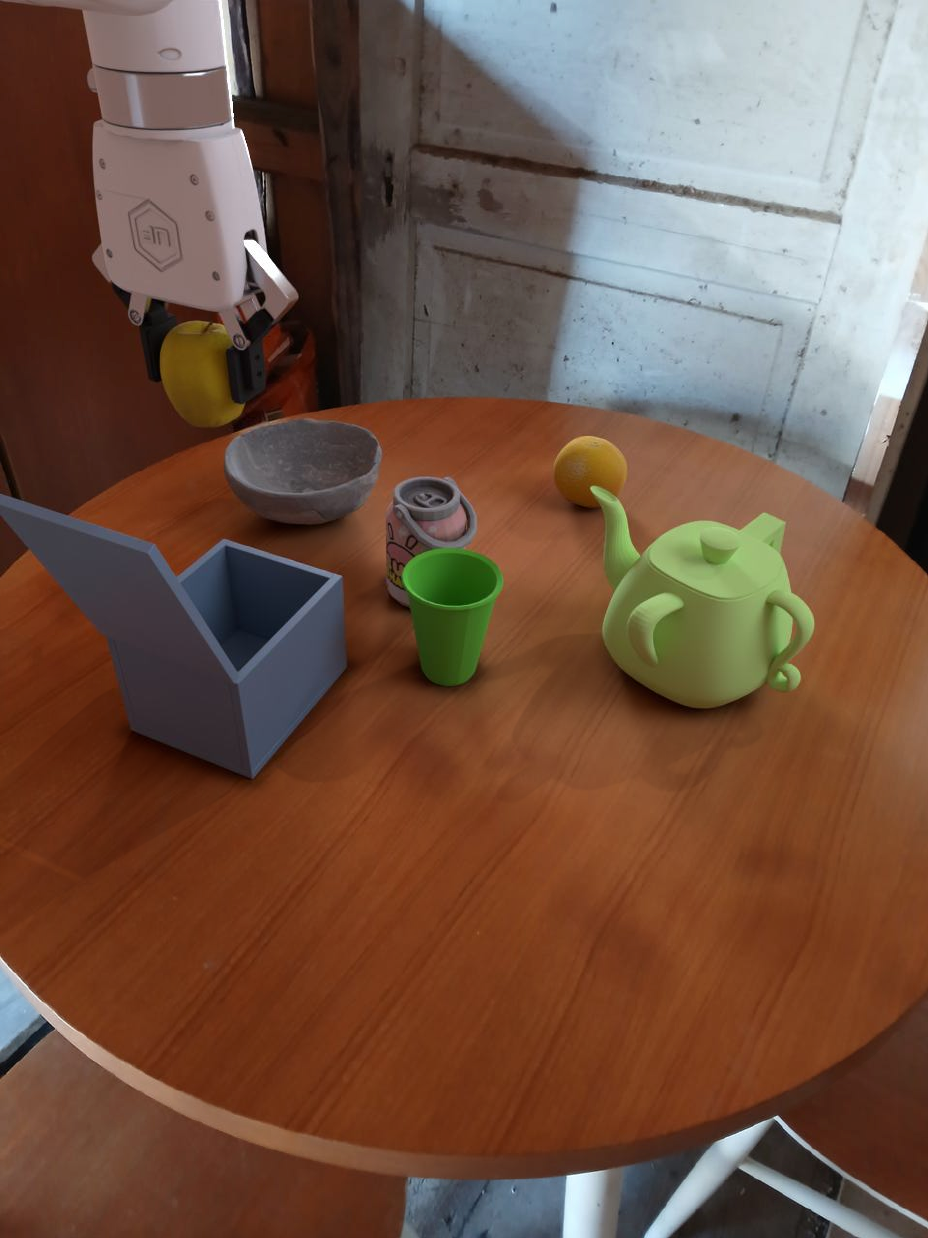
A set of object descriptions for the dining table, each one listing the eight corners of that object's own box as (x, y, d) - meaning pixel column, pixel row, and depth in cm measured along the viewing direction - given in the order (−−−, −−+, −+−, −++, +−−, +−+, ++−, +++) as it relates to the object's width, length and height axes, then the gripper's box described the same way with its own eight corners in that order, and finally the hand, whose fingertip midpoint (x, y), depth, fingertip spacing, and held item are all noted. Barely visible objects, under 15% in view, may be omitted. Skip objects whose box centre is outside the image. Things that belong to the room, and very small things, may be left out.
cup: (474, 630, 91) (480, 540, 84) (510, 689, 85) (519, 596, 78) (389, 649, 88) (388, 556, 82) (419, 711, 82) (421, 616, 75)
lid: (-4, 492, 58) (-12, 501, 58) (155, 543, 54) (147, 553, 54) (107, 626, 72) (101, 634, 71) (239, 675, 68) (234, 684, 68)
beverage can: (487, 592, 96) (494, 495, 89) (435, 629, 91) (438, 529, 84) (422, 558, 101) (423, 463, 93) (369, 592, 95) (366, 493, 88)
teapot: (807, 727, 82) (857, 603, 73) (589, 718, 82) (612, 592, 73) (758, 602, 97) (795, 485, 88) (573, 593, 97) (591, 475, 88)
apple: (248, 445, 64) (235, 334, 59) (158, 440, 64) (137, 330, 59) (266, 405, 69) (255, 300, 64) (182, 400, 69) (164, 295, 64)
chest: (236, 628, 90) (223, 538, 83) (347, 667, 86) (342, 575, 79) (130, 730, 79) (105, 635, 72) (252, 779, 75) (237, 684, 68)
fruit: (624, 489, 114) (635, 432, 109) (617, 523, 108) (627, 463, 103) (556, 478, 116) (563, 421, 111) (544, 510, 110) (551, 451, 105)
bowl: (198, 525, 104) (188, 463, 99) (285, 459, 117) (279, 402, 112) (333, 568, 98) (329, 505, 93) (408, 494, 111) (408, 435, 106)
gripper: (5, 91, 53) (75, 379, 64) (253, 129, 48) (281, 435, 59) (95, 75, 58) (145, 343, 70) (326, 107, 53) (340, 391, 65)
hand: (207, 383), depth 64 cm, fingers closed on apple, 6 cm apart
